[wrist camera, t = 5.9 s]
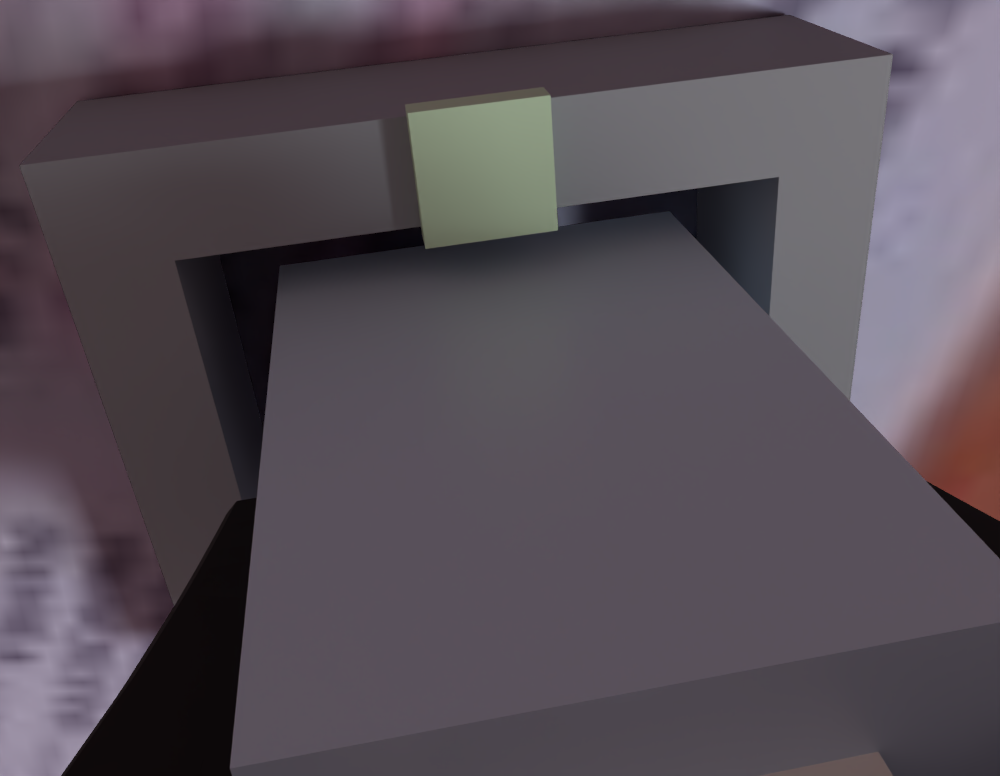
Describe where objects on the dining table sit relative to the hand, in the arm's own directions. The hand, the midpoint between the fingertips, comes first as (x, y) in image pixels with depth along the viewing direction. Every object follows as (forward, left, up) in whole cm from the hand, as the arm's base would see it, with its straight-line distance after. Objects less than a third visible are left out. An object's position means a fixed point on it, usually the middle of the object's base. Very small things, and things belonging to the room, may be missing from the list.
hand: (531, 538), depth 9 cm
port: (0, 0, -3) cm, 3 cm away
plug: (0, 0, -2) cm, 2 cm away
